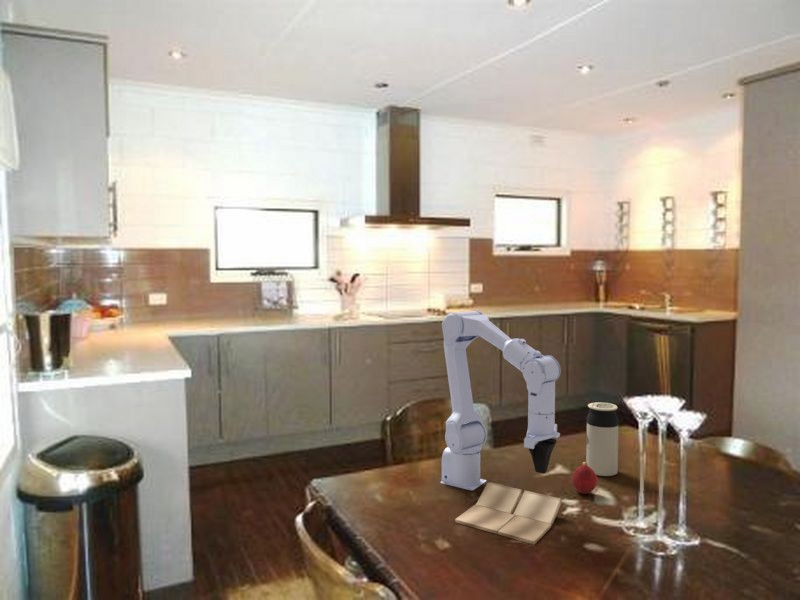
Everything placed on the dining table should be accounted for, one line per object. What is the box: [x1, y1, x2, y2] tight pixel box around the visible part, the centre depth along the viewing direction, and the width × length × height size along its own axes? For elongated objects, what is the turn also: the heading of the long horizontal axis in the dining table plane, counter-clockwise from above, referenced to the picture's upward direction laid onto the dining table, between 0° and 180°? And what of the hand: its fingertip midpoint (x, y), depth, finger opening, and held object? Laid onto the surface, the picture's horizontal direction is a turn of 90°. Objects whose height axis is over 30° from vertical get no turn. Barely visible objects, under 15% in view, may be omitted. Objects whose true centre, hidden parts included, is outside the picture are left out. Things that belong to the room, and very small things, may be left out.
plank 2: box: [513, 490, 562, 526], centre depth 129 cm, size 8×7×1 cm
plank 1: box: [475, 481, 523, 514], centre depth 134 cm, size 8×7×1 cm
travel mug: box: [585, 401, 619, 477], centre depth 156 cm, size 8×8×18 cm
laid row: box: [454, 504, 552, 546], centre depth 125 cm, size 18×9×1 cm, turn 55°
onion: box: [571, 461, 598, 495], centre depth 141 cm, size 6×6×8 cm
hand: (541, 471), depth 130 cm, fingers closed
